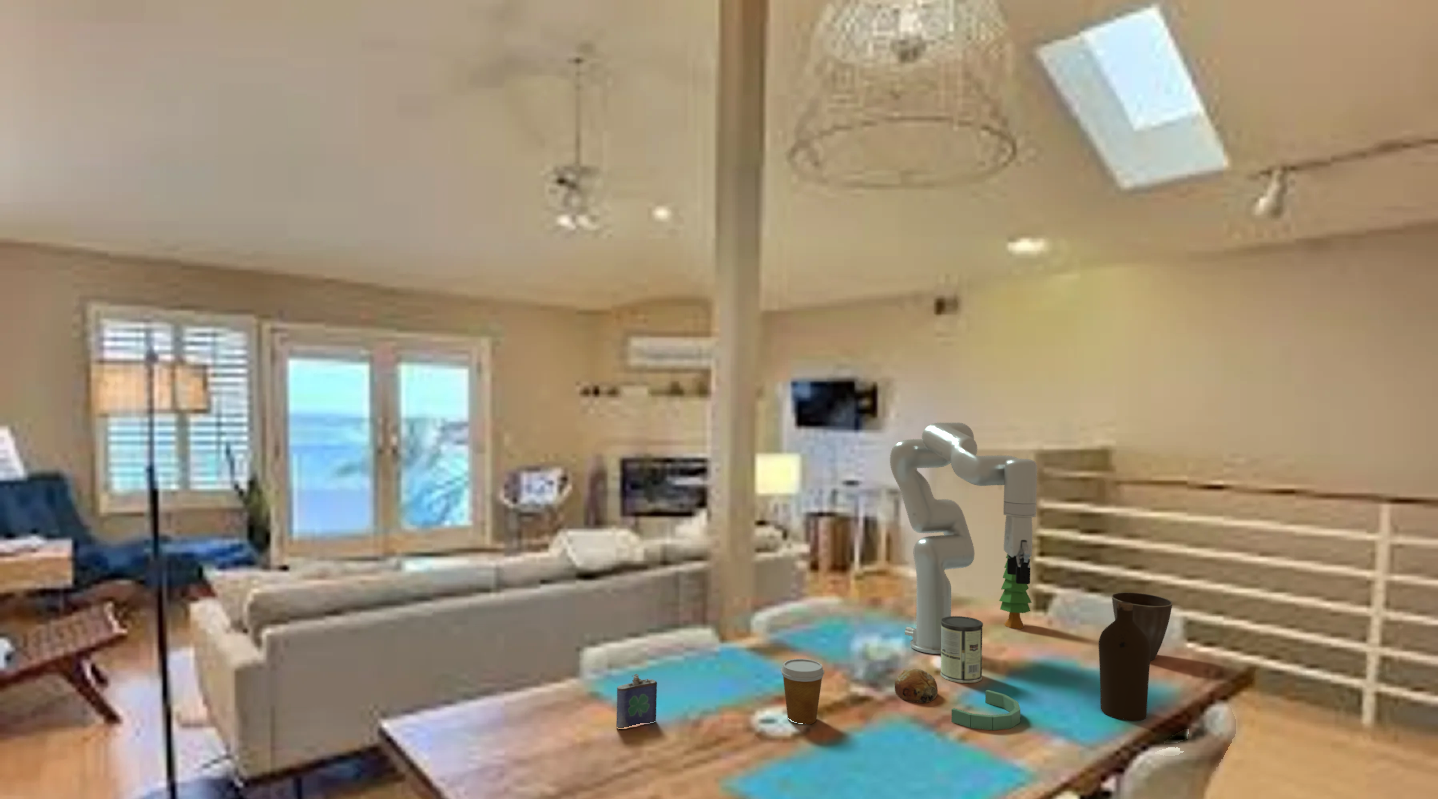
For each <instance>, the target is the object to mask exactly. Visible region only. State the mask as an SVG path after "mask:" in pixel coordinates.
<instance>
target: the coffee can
mask: <svg viewBox="0 0 1438 799" xmlns="http://www.w3.org/2000/svg"><path fill="white" fill-rule="evenodd" d="M983 626H984V623H983V621H981V620H979V619H977V618H974V617H971V616H970V617H969V616H960V615H959V616H958V615H955V616H954V615H953V616H952V615H951V616H950V617H945V618H942V619H941V654H940V676H941V677H942V678H943V679H945V680H946V681H947V680H948V681H950V682H954V683H960V684H961V683H962V684H975V683H979V682H981V681H982V679H983Z"/></svg>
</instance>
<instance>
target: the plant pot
mask: <svg viewBox="0 0 1438 799" xmlns="http://www.w3.org/2000/svg"><path fill="white" fill-rule="evenodd" d="M1111 602H1112V609H1113V615H1114V621H1115V620H1116V618H1117V608H1118V606H1117V603H1118V602H1129V603H1132V604H1133V607H1132V610H1133V621H1134V622H1135V624H1136V625H1137V626H1138V627H1139V628H1140V629H1141V630H1142V631H1143V632H1144V634H1145V635H1146V636H1147V638H1148V640H1149V643H1150V647H1151V656H1150V661H1154V660H1155V659H1156V657H1157V655H1158V653H1159V651H1160V649H1161V646H1162V644H1163V641H1164V638H1165V635H1166V633H1167V629H1168V626H1169V622H1170V618H1171V614H1172V608H1173V602H1172V600H1170V599H1168V598H1165V597H1164V596H1163V597H1162V596H1158V595H1155V594H1147V593H1140V592H1124V591H1123V592H1116V593H1113V594H1111Z"/></svg>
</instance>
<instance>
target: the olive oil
mask: <svg viewBox="0 0 1438 799" xmlns="http://www.w3.org/2000/svg"><path fill="white" fill-rule="evenodd" d="M1117 606H1118V608H1117V618H1116V620H1115V619H1114V620H1113V622H1111V623H1110V624H1109V625H1108V626H1106V627H1105V628H1104V629H1103V630H1102V631H1101V633H1100V636H1099V638H1098V659H1099V688H1100V689H1099V690H1100V691H1099V694H1100V698H1099V700H1100V710H1101V712H1102V713H1103V714H1104V715H1107V716H1109V717H1111V718H1114V719H1117V720H1123V721H1129V722H1130V721H1131V722H1132V721H1133V722H1135V721H1136V722H1137V721H1143V720H1145V719H1146V718H1147V715H1148V695H1149V692H1148V691H1149V683H1150V682H1149V681H1150V680H1149V679H1150V666H1151V660H1150V656H1151V647H1150V643H1149V640H1148V638H1147V636H1146V635H1145V634H1144V632H1143V631H1142V630H1141V629H1140V628H1139V627H1138V626H1137V625H1136V624H1135V622H1134V621H1133V610H1132V607H1133V604H1132V603H1129V602H1118V603H1117Z"/></svg>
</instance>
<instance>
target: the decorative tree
mask: <svg viewBox="0 0 1438 799" xmlns="http://www.w3.org/2000/svg"><path fill="white" fill-rule="evenodd" d="M1007 558H1008V554H1007V553H1006V556H1005V559H1007ZM1003 572H1004V573H1003V576H1002V578H1003V579H1004V581H1003V584H1002V585H1001V590H1003V592H1002V593H1001V596H1000V599H999V600H998V601H999V602H1001V604H1000V608H999V610H1001V611H1004V612H1007V613H1009V614H1008V619H1007V620H1006V621H1005V622H1004V623H1003V625H1004V626H1005V627H1007V628H1009V629H1010V628H1011V629H1017V630H1022V629H1023V628H1024V626H1025V625H1024V623H1023V621H1022V618H1021V614H1026V613H1028V612H1031V608H1030V605H1029V604H1031V603H1032V600H1031V598H1030V597H1029V595H1028V592H1027V591H1028V590H1029V589H1030V588H1029V586H1028V585H1029V584H1017V583H1016V575H1010V574H1008V573H1007V561H1006V562H1005V564H1004V571H1003Z"/></svg>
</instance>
